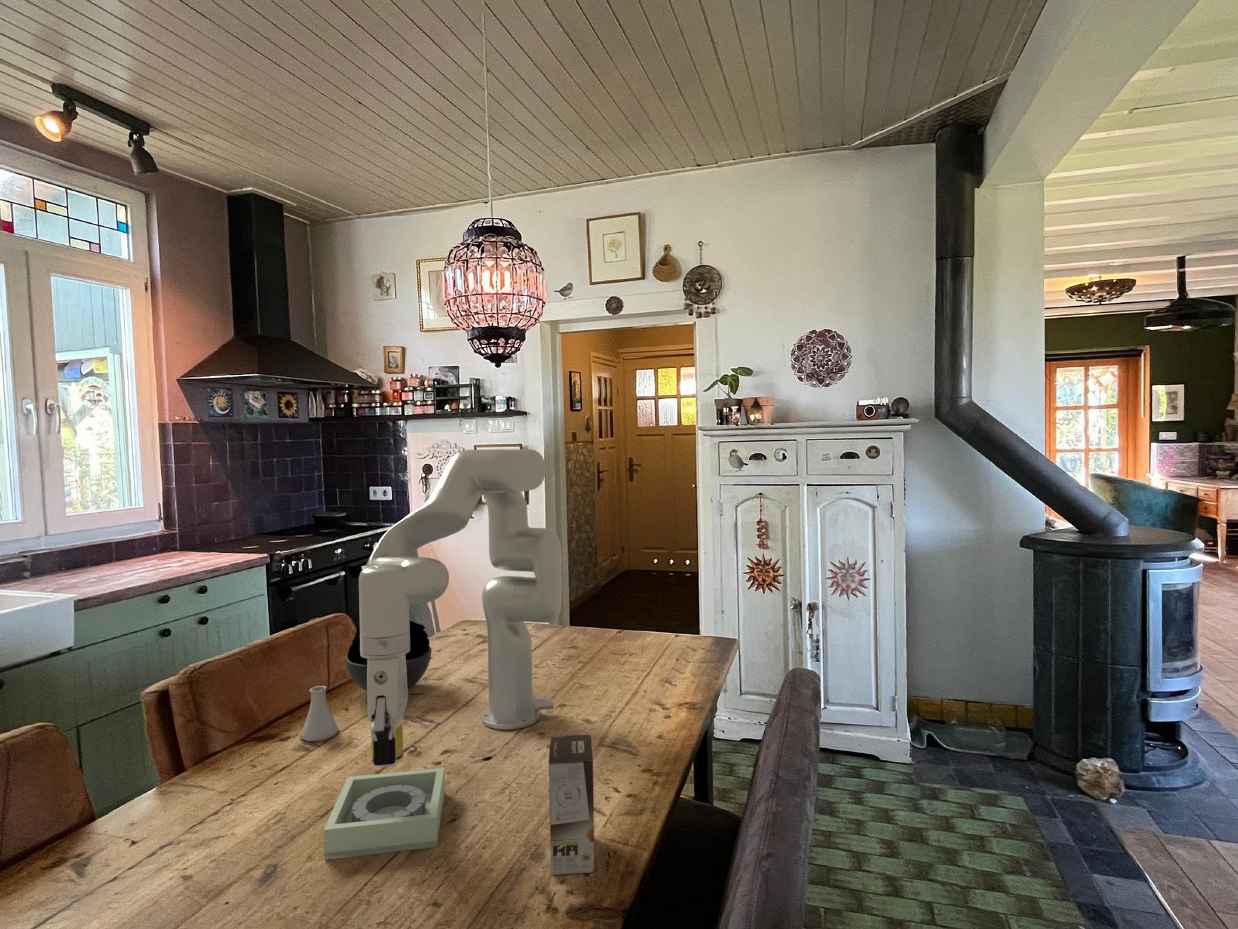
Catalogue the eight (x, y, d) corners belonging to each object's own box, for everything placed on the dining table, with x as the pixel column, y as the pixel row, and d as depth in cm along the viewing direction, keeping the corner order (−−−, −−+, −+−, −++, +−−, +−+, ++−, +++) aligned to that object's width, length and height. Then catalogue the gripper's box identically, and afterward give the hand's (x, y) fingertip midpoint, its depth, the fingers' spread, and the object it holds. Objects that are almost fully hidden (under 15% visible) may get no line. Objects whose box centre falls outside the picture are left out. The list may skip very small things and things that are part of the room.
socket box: (444, 793, 118) (444, 767, 118) (436, 847, 102) (435, 817, 102) (348, 803, 115) (347, 777, 115) (324, 860, 99) (323, 830, 99)
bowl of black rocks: (335, 691, 168) (333, 616, 167) (414, 673, 180) (412, 603, 179) (362, 716, 152) (359, 633, 151) (445, 694, 164) (443, 618, 164)
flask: (324, 744, 138) (322, 695, 138) (292, 741, 140) (291, 693, 139) (345, 729, 145) (343, 683, 145) (315, 726, 147) (313, 681, 146)
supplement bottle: (395, 751, 111) (394, 701, 111) (408, 761, 108) (407, 709, 108) (366, 761, 108) (365, 709, 108) (379, 771, 105) (378, 717, 104)
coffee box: (595, 873, 95) (593, 761, 95) (550, 876, 95) (548, 764, 94) (592, 835, 104) (591, 733, 104) (551, 838, 104) (549, 735, 103)
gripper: (402, 658, 100) (404, 779, 100) (416, 627, 117) (418, 732, 117) (348, 661, 99) (351, 784, 99) (370, 630, 115) (372, 735, 116)
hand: (387, 754), depth 108 cm, fingers closed on supplement bottle, 4 cm apart
